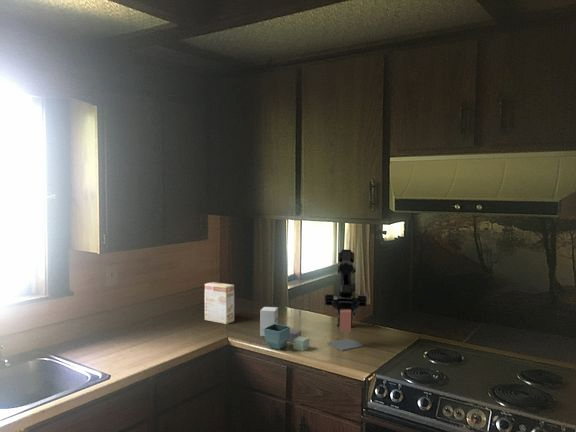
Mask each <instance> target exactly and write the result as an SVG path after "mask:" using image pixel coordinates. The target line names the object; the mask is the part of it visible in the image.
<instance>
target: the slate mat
mask: <svg viewBox="0 0 576 432" xmlns="http://www.w3.org/2000/svg"><path fill="white" fill-rule="evenodd" d="M326 344H327V345H329V346H331V347H333V348H335V349H337V350H339V351H341V352H343V351H347V350H353V349H358V348H362V347H364V344H362V343H360V342H357V341H355V340H353V339H351V338H345V339H340V340H335V341H334V340H333V341H330V342H329V341H328V342H327V343H326Z"/></svg>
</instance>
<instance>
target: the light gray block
mask: <svg viewBox="0 0 576 432" xmlns="http://www.w3.org/2000/svg"><path fill="white" fill-rule="evenodd" d="M301 335H302V331H301V330H296V329H290V333H289V339H288V341H287V343H291V344H293V339H295V338H297V337H298V336H300V337H302V336H301Z"/></svg>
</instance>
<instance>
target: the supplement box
mask: <svg viewBox="0 0 576 432" xmlns="http://www.w3.org/2000/svg"><path fill="white" fill-rule="evenodd" d="M259 311H260V312H259V315H260V316H259V317H260V318H259V337H265V334H264V328H266V327H268V326H270V325H272V324H278V325H279V321H278V320H279V318H278V317H279V308H278V307H275V306H264V307H262V308H261V309H260V310H259Z"/></svg>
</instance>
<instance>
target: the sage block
mask: <svg viewBox="0 0 576 432" xmlns="http://www.w3.org/2000/svg"><path fill="white" fill-rule="evenodd" d="M309 340H310V338H309V337H307V336H306V337H305V336H301V337H300V336H298V337H297V338H295V339H293V343H292V345H293V346H292V347H293V348H292V349H293V350H296V351H300V350H301V352H304V351H306V350H307V349H309V346H310V345H309V344H310V341H309Z"/></svg>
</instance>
